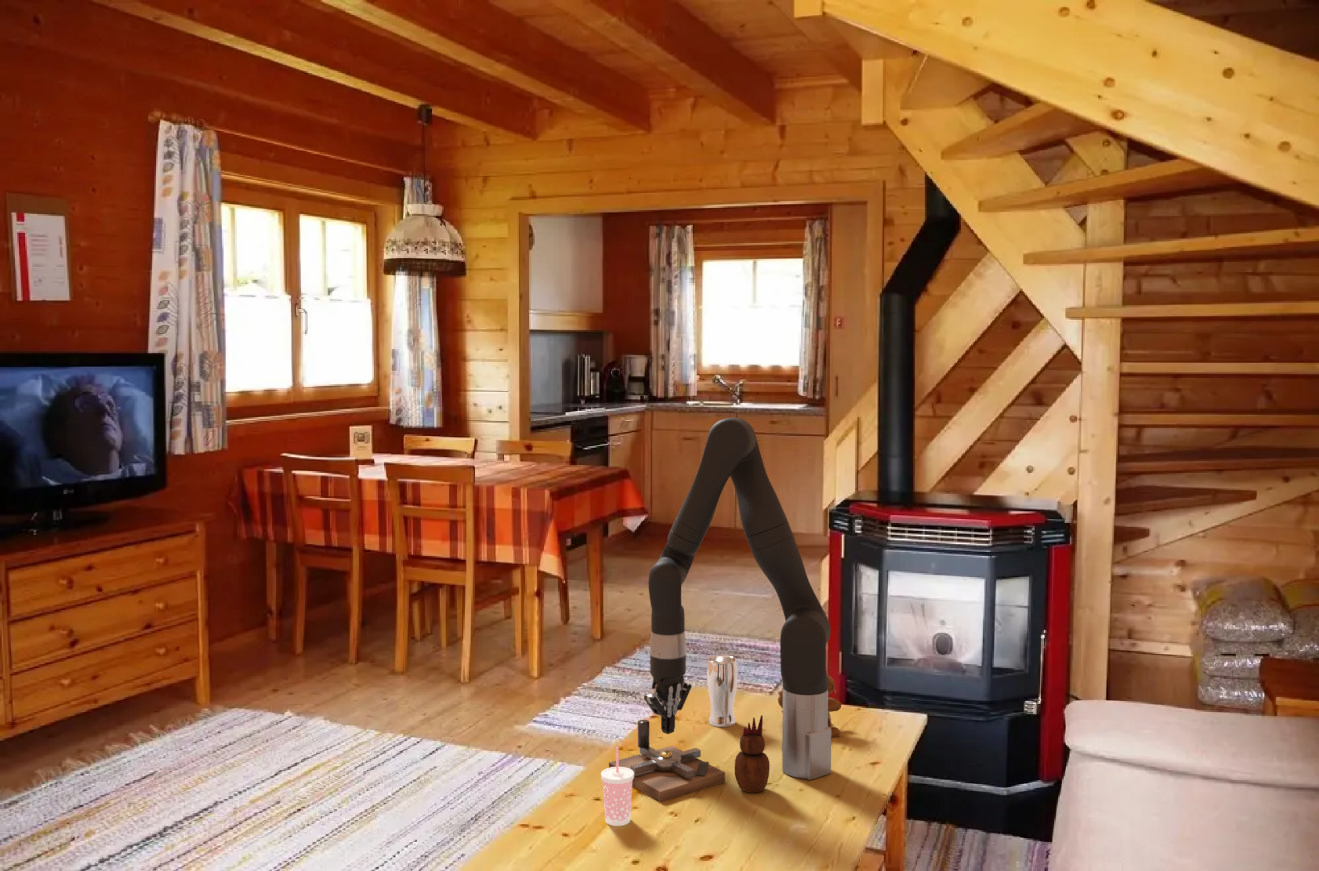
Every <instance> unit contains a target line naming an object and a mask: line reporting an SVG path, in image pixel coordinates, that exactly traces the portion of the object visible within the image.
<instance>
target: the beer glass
mask: <svg viewBox="0 0 1319 871" xmlns="http://www.w3.org/2000/svg"><path fill="white" fill-rule="evenodd" d="M737 665H738V664H737V658H736V657H734V656H730V655H724V654H723V655H722V654H721V655H713V656H709V657H708V659H707V669H706V670H707V671H706V672H707V673H706V681H707V683H706V684H707V691H708V695H709V701H710V711H709V712H710V714H709V718H708V723H709V725H711V726H713V727H717V728H729V727H732V726H734V725H735V724H736V718H735V712H734V710H735V709H734V707H735V705H734V704H735V698H736V693H737V686H738V666H737Z"/></svg>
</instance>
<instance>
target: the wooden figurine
mask: <svg viewBox="0 0 1319 871" xmlns="http://www.w3.org/2000/svg"><path fill="white" fill-rule="evenodd" d="M763 717H764V716H763V715H760V717H759V718H760V719H759V722H758V725H757V723H756V718H755V717H752V724H751V723H750V722H748V723H747V726H744V727H743V732H742V735H740V738H739V748H740V751H739V752H738V753H737V754H736V756H735V760H734V775H735V781H736V783H737V785H738V787H739V788H740V789H741V790H743V791H744V792H748V793H751V794H753V793H760V792H762V791H764V789H765V788H766V787H767V785H768V782H769V778H770V770H771V769H770V763H771V762H770V759H769V756H768V755H767V754H766V753H764V751H765V748H766V742H765V738H764V736H763V722H764V721H763Z"/></svg>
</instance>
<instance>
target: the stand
mask: <svg viewBox="0 0 1319 871" xmlns="http://www.w3.org/2000/svg"><path fill="white" fill-rule="evenodd" d="M656 750H657V751H659V752H661V751H672V752H676V753H679V752H682V751H683V750H682V749H679V748H677V747H675V746H674V745H670V746H665V747H662V748H658V749H656ZM650 760H651V759H650V758H648V757H646V756H645V755H643V754H641V753H639V754H636V755H631V756H628V757H625V758H621V759H620V758H619V767H626V768H629V769H630V766H632V765H635V764H639V763H643V762H646V761H650ZM681 763H682V764H684V765H686V766H688V767H690V768H692V769H694V777H691V778H686V777H684V776H682V775H680V774H678V773H676V772H674V771H667V772H665V771H658V770H652V771H648V772H645V773H641V774H638V775H634V778H633V781H632V787H634V788H636V789H637V790H639V791H641V792H643V793H644V794H646V795H647V796H650V797H651V798H653V799H655V800H656V801H658V802H659V803H661V802H664V801H667V800H670V799H673V798H677V797H680V796H684V795H687V794H690V793H693V792H697V791H701V790H704V789H706V788H710V787H713V786H714V787H715V786H717V785H720V784H724V783H726V772H725V771H723V770H721V769H720V768H717V767H715V766H713V765H711V764H710V762H709V761H703V760H701V759H699V757H698V758H694V759H691V760H687V761H684V762H681ZM611 767H616V760H614V761H609V762H608V768H611Z"/></svg>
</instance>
